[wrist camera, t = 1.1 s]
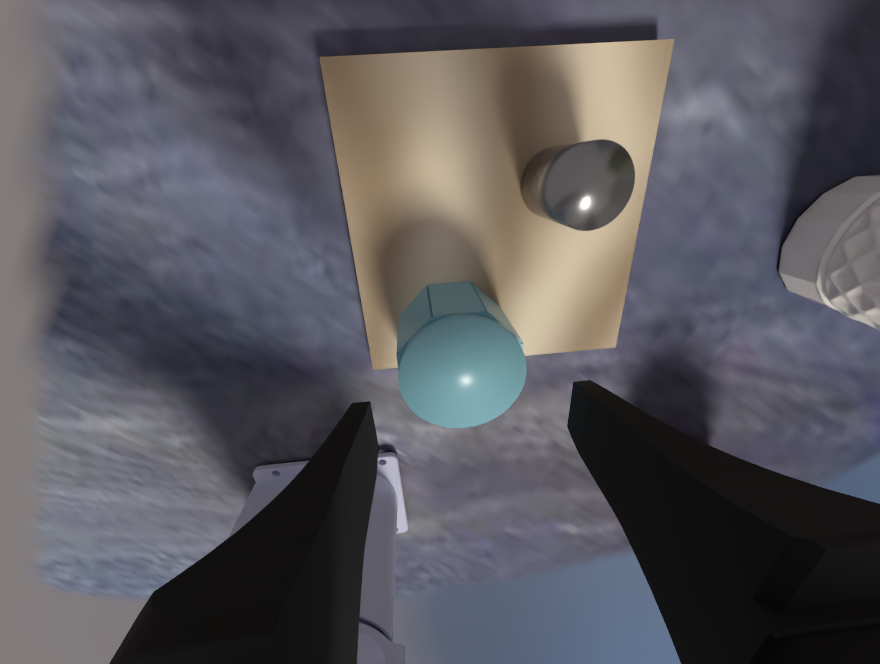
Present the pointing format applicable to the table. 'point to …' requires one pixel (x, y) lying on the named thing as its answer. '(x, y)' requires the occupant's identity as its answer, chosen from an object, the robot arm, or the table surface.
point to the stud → (579, 183)
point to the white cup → (838, 251)
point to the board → (489, 180)
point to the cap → (458, 356)
